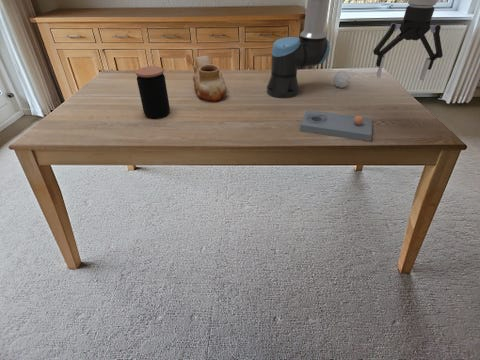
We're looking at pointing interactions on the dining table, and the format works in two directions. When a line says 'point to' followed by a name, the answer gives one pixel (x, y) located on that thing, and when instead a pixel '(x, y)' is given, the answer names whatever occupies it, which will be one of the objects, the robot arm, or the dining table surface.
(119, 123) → the dining table surface
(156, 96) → the coffee jar
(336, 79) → the geometric ball
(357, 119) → the ball
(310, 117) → the plate
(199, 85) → the ceramic vessel
